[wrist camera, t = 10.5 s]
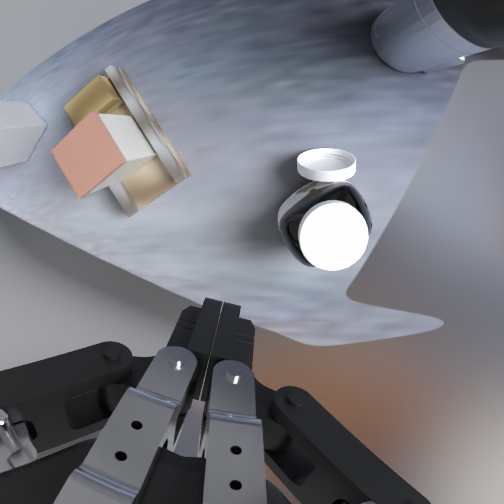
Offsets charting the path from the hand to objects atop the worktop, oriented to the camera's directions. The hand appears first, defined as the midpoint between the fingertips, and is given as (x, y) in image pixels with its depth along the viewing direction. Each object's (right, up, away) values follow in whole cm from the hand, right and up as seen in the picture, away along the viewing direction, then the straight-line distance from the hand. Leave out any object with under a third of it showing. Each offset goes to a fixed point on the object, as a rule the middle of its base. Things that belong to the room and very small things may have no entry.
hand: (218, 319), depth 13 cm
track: (-14, +17, +25) cm, 34 cm away
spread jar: (+10, +10, +27) cm, 30 cm away
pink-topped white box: (-14, +16, +24) cm, 32 cm away
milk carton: (-34, +22, +25) cm, 47 cm away
